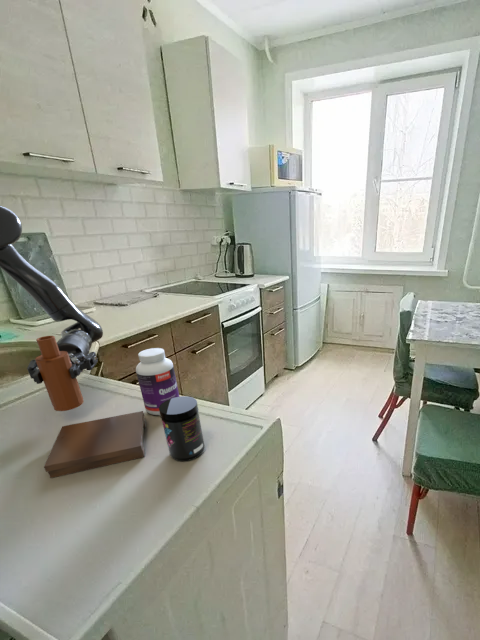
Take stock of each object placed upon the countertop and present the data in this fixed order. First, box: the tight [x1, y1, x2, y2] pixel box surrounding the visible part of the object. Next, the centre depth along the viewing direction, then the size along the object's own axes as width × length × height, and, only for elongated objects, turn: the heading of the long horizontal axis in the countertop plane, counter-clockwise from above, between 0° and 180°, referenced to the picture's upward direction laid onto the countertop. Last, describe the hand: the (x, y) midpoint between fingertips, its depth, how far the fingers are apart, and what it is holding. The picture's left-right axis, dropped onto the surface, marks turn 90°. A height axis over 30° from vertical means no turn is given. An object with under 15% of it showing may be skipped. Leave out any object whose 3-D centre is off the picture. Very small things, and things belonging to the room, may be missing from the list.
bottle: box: [34, 335, 85, 412], centre depth 77 cm, size 6×6×16 cm
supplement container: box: [159, 395, 205, 462], centre depth 66 cm, size 7×7×10 cm
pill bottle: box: [135, 347, 180, 416], centre depth 81 cm, size 8×8×14 cm
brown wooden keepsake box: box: [43, 410, 147, 479], centre depth 70 cm, size 16×14×3 cm
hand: (55, 376), depth 75 cm, fingers closed on bottle, 6 cm apart
